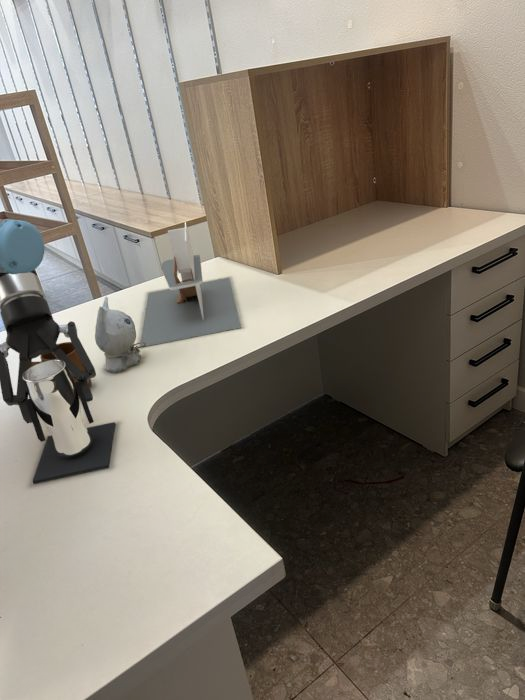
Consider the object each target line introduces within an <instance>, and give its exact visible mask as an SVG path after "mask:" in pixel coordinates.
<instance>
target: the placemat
mask: <svg viewBox="0 0 525 700" xmlns="http://www.w3.org/2000/svg"><path fill="white" fill-rule="evenodd" d="M86 428H87V430H88V431H89V433H90V434H91V436H92V444H91V445H90V447H89V448H88V449H86V450H85V451H84V452H82V453H80V454H78V455H75V456H72V457H61V456H59V455H58V454H57V453H56V450H55V445H54V440H53V437H52V435H48V436H47V437H46V440H45V444H44V446H43V450H42V451H41V455H40V457H39V461H38V464H37V467H36V469H35V472H34V476H33V478H32V483H33V485H35V484H39V483H43V482H48V481H54V480H57V479H61V478H67V477H71V476H76V475H80V474H81V475H82V474H86V473H91V472H94V471H99V470H103V469H109V468H110V462H111V457H112V449H113V444H114V437H115V430H116V422H115V421H113V422H109V423H104V424H99V425H95V426H90V427H86Z"/></svg>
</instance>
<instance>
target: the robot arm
mask: <svg viewBox="0 0 525 700" xmlns="http://www.w3.org/2000/svg"><path fill="white" fill-rule="evenodd" d="M45 248H46V247H45V241H44V237H43V235H42V233H41V232H40V231H39V229H38V228H37V227H36V226H35V225H34V224H32V223H31V222H28V221H26V220H20V219H16V218H7V219H3V218H0V317H1V321H2V324H3V326H4V329H5V332H6V337H5V341H4V342H2V343H1V344H0V391H1V397H2V400H3V402H4V403H5V404H6V405H7V406H9V407H12V406H18V408H19V410H20V414H21V416H22V419H23V421H24V422H25V423H26V424H31V423H32V425H33V428H34V431H35V434H36V437H37V439H38V441H39V442H40V443H42V442H46V440H47V438H46V436H45V433H44V430H43V427H42V425H41V422H40V417H39V415H38V414H37V412H36V410H35V409H34V407H33V405H32V403H31V400H30V398H29V395H28V393H27V390H26V386H25V383H24V380H23V378H22V375H23V373H24V372H25V371H26V370H27V369H28V368H30V366H31V362H33V361H32V360H33V359H36V358H38V357H40V356H41V355H44V354H49V353H52V354H53V355H54V356H55V357H56V358H57V359H60V360H63V361H64V362H65V363H66V366H67V368H68V370H69V372H70V373H71V374H72V376H73V377H74V378H75V379H76V380H77V381H78V382H76V383H75V386H76V389H77V392H78V395H79V401H80V404H81V406H82V408H83V411H84V414H85V417H86V419H87V421H88V424H89V425H91V424H93V423H95V422H94V418H93V415H92V413H91V410H90V407H89V405H88V403H90V402H92V401H93V399H94V397H93V393H92V391H91V388H89V385H88V381H89V380H90V379H91V380H92V379H93V378H95V377H97V371H96V369H95V366H94V364H93V363H92V361H91V359H90V357H89V355H88V353H87V351H86V349H85V348H84V345H83V344H82V342H81V339H80V338H79V335H78V327H77V325H76V323H75V321H69V322H68V323H67V324H58V322H56V321H55V320H54V316H53V314H52V311H51V309H50V306H49V303H48V301H47V300H46V295H45V292H44V290H43V287H42V284H41V282H40V278H39V277H38V273H37V271H36V269H38V267H39V266H40V265H41V263H42V262H43V260H44V256H45V250H46V249H45ZM60 334H63V335H64V337H65V338H67V339H69V340H70V342H72V345H73V347H74V348H75V350H76V352H77V354H78V356H79V358H80V360H81V362H82V364H83V366H84V367H85V369H86V371H84V372H83V373H82V372H81V371H80V369H79V368H78V367H77V366H76V365H75V364H74V363H73V362H72V361H71V360H70V359H69V357H68V356H67V355H66V354H65V353H64V352H63V351H62V350H61V349H60V348H59V346H58V345H57V344H58V343H57V342H58V340H59V336H60ZM10 349H11V350H13V351H14V352H16V353H17V354H18V372H17V373H18V375H17V383H16V384H17V385H16V394H14V389H13V384H12V378H11V373H10V368H9V363H8V361H7V358H8V357H9V354H10V353H9V350H10Z"/></svg>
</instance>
